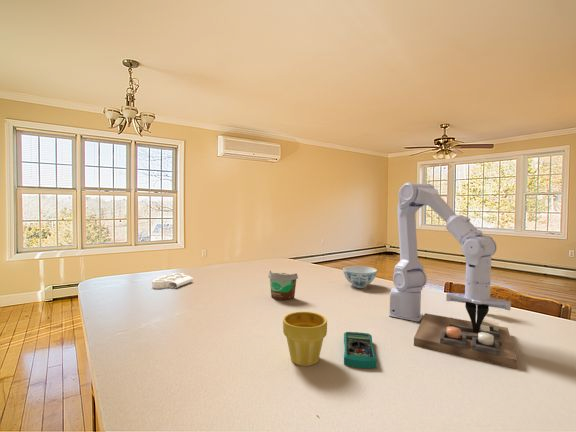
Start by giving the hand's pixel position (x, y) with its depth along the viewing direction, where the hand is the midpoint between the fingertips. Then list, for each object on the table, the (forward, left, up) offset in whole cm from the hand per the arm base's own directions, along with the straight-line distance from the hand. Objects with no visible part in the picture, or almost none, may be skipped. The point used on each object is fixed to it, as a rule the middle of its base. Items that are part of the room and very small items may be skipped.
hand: (475, 331), depth 83 cm
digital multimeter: (-25, -22, -4) cm, 33 cm away
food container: (-65, +5, -4) cm, 65 cm away
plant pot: (-35, -32, -4) cm, 48 cm away
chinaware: (-45, +41, -4) cm, 61 cm away
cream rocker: (+3, +8, 0) cm, 9 cm away
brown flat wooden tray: (-3, +1, -3) cm, 5 cm away
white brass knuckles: (-118, -3, -4) cm, 118 cm away
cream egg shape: (+2, -7, 0) cm, 7 cm away
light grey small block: (+2, 0, -1) cm, 2 cm away
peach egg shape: (-5, -7, 0) cm, 9 cm away
